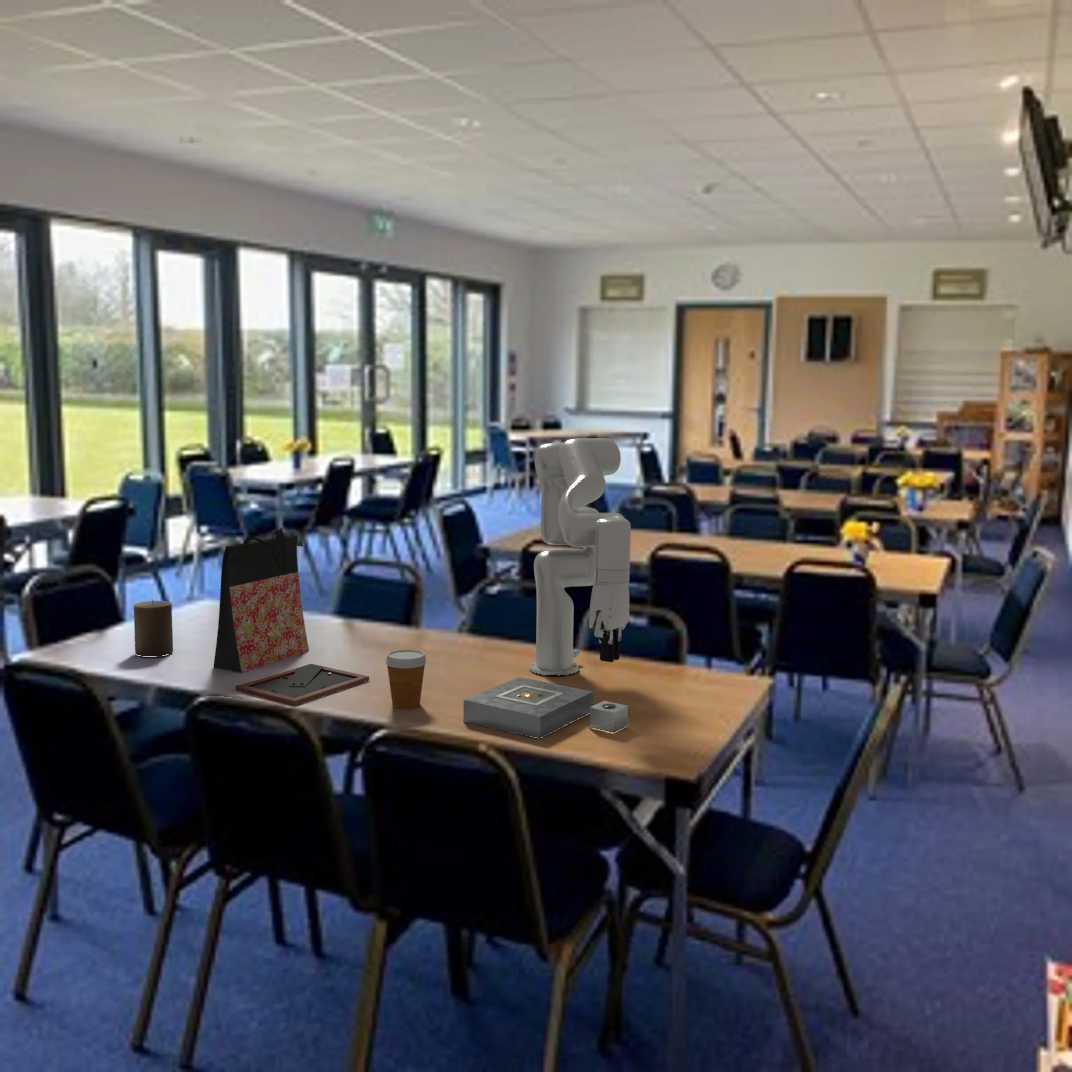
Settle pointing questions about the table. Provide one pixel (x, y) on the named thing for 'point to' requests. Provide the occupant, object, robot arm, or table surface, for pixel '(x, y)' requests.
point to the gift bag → (260, 604)
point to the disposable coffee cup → (406, 677)
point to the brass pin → (529, 695)
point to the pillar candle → (153, 628)
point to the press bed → (527, 707)
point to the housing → (608, 716)
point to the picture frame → (301, 684)
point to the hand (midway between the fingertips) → (609, 659)
